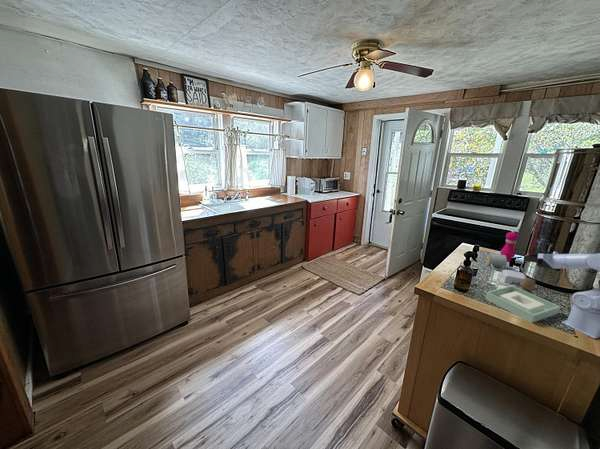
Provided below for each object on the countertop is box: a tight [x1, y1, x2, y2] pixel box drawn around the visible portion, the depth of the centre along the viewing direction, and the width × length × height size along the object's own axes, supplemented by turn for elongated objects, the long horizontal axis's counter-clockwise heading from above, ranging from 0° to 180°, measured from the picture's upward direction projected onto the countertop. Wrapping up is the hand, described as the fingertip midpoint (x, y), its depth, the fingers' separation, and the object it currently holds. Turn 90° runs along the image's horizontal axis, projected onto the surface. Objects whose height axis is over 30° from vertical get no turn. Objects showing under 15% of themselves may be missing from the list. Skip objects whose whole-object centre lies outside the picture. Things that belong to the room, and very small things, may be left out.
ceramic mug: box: [486, 253, 508, 272], centre depth 146 cm, size 11×8×8 cm
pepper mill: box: [499, 229, 519, 263], centre depth 155 cm, size 7×7×20 cm
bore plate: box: [499, 291, 545, 314], centre depth 108 cm, size 11×11×3 cm
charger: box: [500, 269, 527, 287], centre depth 132 cm, size 5×9×15 cm
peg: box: [520, 277, 536, 294], centre depth 118 cm, size 4×4×8 cm
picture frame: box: [484, 284, 562, 324], centre depth 108 cm, size 18×18×4 cm
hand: (530, 261), depth 111 cm, fingers open, 7 cm apart
